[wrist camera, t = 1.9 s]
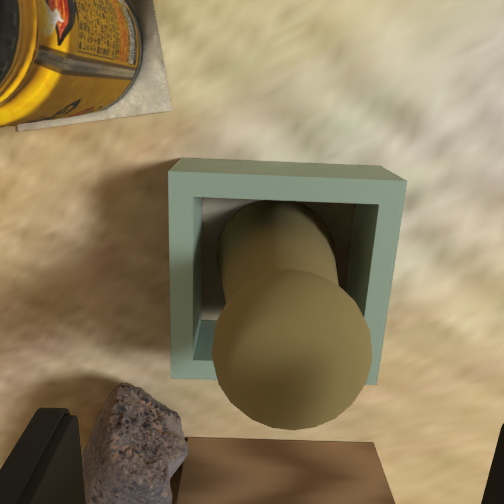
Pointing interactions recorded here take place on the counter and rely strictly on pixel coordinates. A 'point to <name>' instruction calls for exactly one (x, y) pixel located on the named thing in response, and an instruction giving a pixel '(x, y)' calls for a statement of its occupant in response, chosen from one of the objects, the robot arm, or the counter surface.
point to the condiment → (79, 62)
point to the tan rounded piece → (286, 320)
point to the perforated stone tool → (133, 450)
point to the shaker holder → (287, 189)
